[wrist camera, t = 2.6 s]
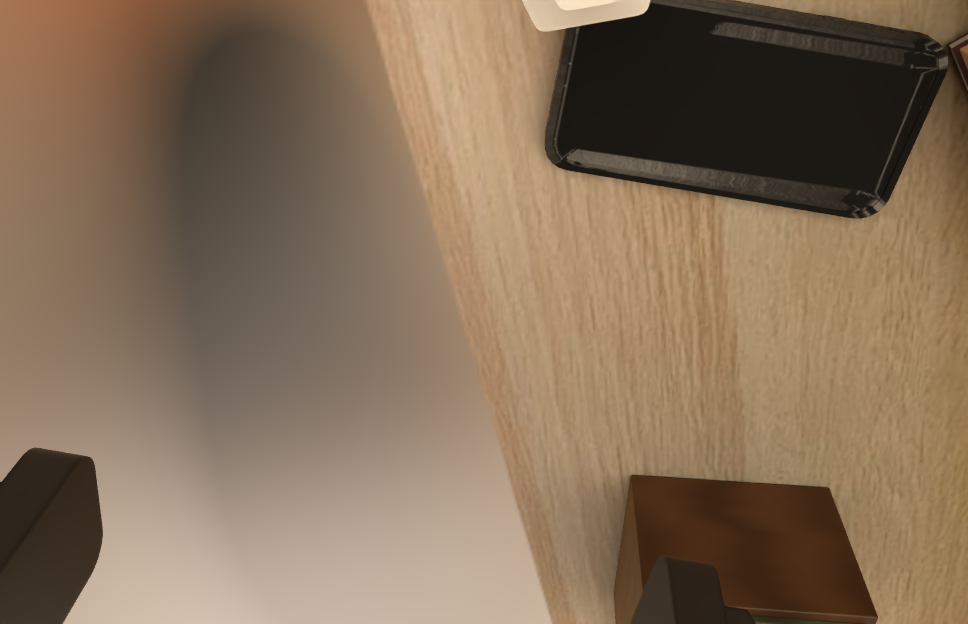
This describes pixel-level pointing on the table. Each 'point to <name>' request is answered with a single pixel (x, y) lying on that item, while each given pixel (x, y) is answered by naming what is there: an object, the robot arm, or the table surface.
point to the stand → (746, 548)
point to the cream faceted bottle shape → (580, 12)
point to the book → (960, 57)
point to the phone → (745, 103)
